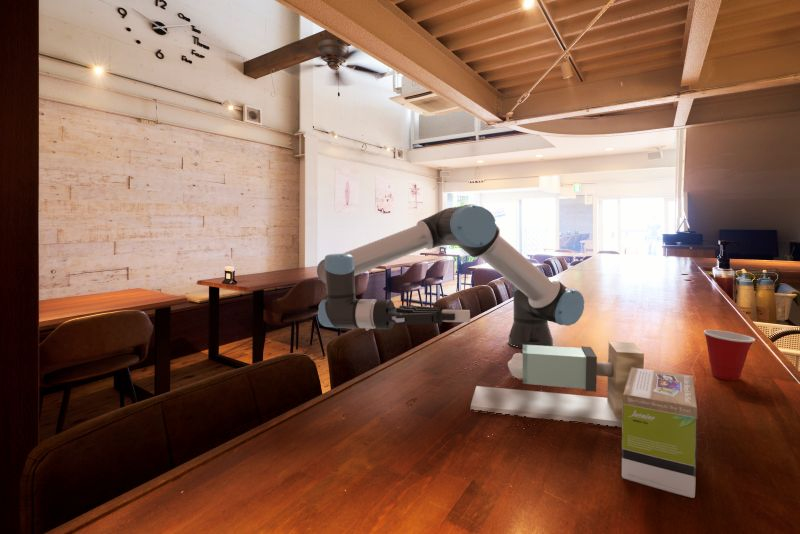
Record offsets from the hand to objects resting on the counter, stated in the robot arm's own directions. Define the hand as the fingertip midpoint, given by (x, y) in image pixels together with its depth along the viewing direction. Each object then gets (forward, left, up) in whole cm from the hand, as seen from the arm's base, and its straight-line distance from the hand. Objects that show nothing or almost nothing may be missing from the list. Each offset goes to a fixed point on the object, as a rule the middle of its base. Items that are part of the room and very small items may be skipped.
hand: (469, 316), depth 95 cm
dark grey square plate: (+21, +16, -15) cm, 30 cm away
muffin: (-2, +22, -21) cm, 30 cm away
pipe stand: (+15, +12, -21) cm, 28 cm away
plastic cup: (+33, +65, -21) cm, 75 cm away
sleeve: (+15, +11, -14) cm, 23 cm away
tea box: (+39, +6, -21) cm, 45 cm away
